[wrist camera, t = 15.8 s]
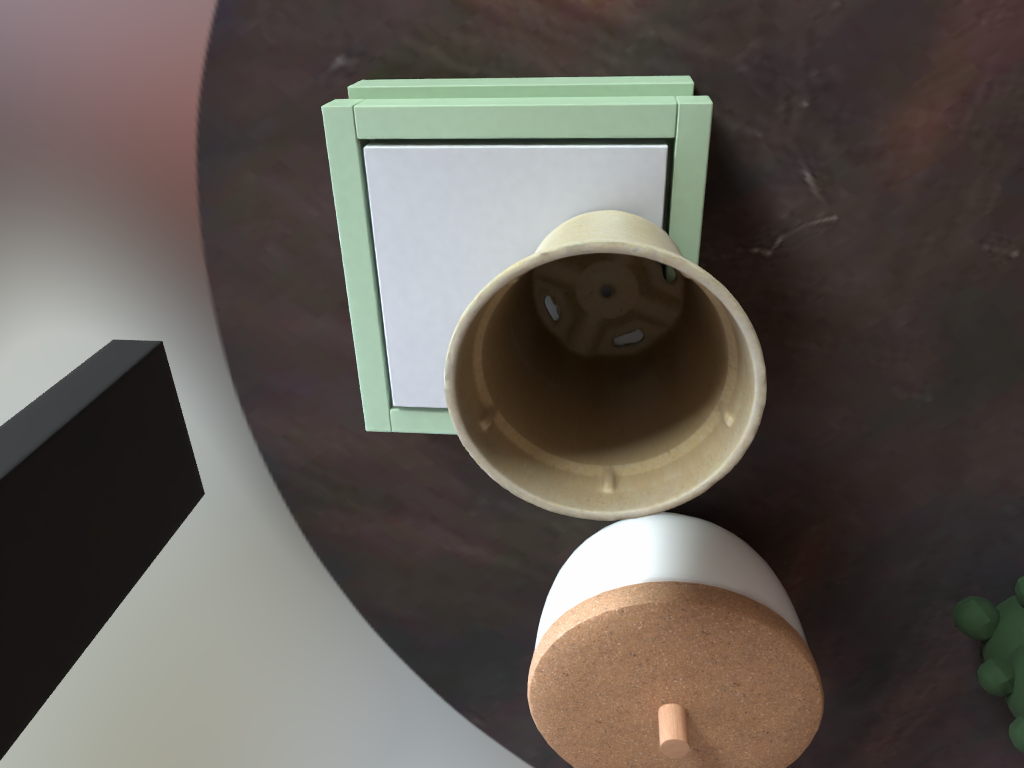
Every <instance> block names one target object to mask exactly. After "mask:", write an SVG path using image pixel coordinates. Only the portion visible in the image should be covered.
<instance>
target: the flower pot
mask: <svg viewBox="0 0 1024 768" xmlns="http://www.w3.org/2000/svg"><path fill="white" fill-rule="evenodd" d="M659 262H660V263H663V264H666V265H668V266H671V267H673V269H674V271H675V274H676V277H675V279H674V280H673V281H672V282H669V281H667V280H666V279H665V278H664V276H663V271H662V267H661V265H660V263H659ZM604 286H609V287H610V288H612V293H611V295H610V296H604V295H602V293H601V291H602V288H603V287H604ZM547 296H550V298H551V300H552V302H553V304H554V305H557V306H558V308H557V307H556V311H557V314H558V316H559V318H558V319H557V320H556V321H554V320H553V318H552V316H551V315H550V313H549V311H548V309H547V307H546V304H545V298H546V297H547ZM637 329H639V330H641V332H642V333H643V338H642V339H641V340H640V341H638V342H635V343H629V344H624V345H621V346H619V345H615V344H614V339H615V338H617V337H619V336H622V335H625V334H628V333H631V332H633V331H636V330H637ZM766 385H767V381H766V368H765V363H764V358H763V353H762V350H761V346H760V342H759V340H758V337H757V334H756V332H755V330H754V328H753V326H752V324H751V322H750V320H749V318H748V316H747V315H746V313H745V312H744V310H743V309H742V307H741V306H740V304H739V303H738V301H737V300H736V299H735V298H734V297H733V295H732V294H731V293H730V292H729V291H728V290H727V289H726V288H725V287H724V286H723V285H722V284H721V283H720V282H719V281H718V280H716V279H715V278H714V277H713V276H712V275H710V274H709V273H708V272H706V271H705V270H703V269H702V268H701V267H699V266H698V265H696V264H695V263H693V262H691V261H689V260H687V259H686V258H684V257H683V255H682V253H681V252H680V250H679V248H678V246H677V245H676V244H675V242H674V241H673V240H672V239H671V237H670V236H669V235H668V234H667V233H666V232H665V231H664V230H663V229H661V228H660V227H659V226H657V225H655V224H654V223H652V222H650V221H648V220H647V219H644V218H642V217H639V216H637V215H634V214H630V213H627V212H622V211H618V210H603V211H594V212H588V213H585V214H581V215H578V216H576V217H574V218H572V219H570V220H568V221H566V222H564V223H563V224H561V225H560V226H558V227H557V228H556V229H554V230H553V231H552V232H551V233H550V234H549V235H548V236H547V237H546V238H545V239H544V240H543V241H542V243H541V244H540V245H539V247H538V248H537V250H536V251H535V253H534V254H532V255H530V256H528V257H526V258H524V259H522V260H520V261H518V262H516V263H515V264H513V265H512V266H510V267H508V268H507V269H506V270H504V271H503V272H501V273H500V274H499V275H498V276H496V277H495V278H494V279H493V280H492V281H491V282H489V283H488V284H487V285H486V286H485V287H484V288H483V289H482V290H481V291H480V292H479V293H478V294H477V296H476V297H475V298H474V299H473V300H472V302H471V303H470V304H469V305H468V307H467V308H466V310H465V311H464V313H463V314H462V316H461V318H460V320H459V322H458V324H457V326H456V328H455V330H454V333H453V335H452V338H451V341H450V344H449V348H448V351H447V356H446V361H445V367H444V387H445V396H446V403H447V408H448V411H449V415H450V418H451V420H452V423H453V426H454V429H455V431H456V433H457V434H458V436H459V439H460V440H461V442H462V445H463V446H464V447H465V449H466V450H468V452H469V453H470V456H471V457H473V459H474V460H475V461H476V462H477V464H478V465H479V466H480V467H481V468H482V469H483V470H484V471H485V472H486V473H487V474H488V475H489V476H490V477H491V478H492V479H493V480H495V481H496V482H497V483H499V484H500V485H501V486H502V487H503V488H504V489H507V490H509V491H510V492H511V493H512V494H514V495H516V496H517V497H519V498H521V499H523V500H525V501H527V502H530V503H532V504H534V505H536V506H538V507H540V508H543V509H546V510H548V511H551V512H555V513H559V514H563V515H567V516H571V517H577V518H583V519H593V520H607V521H610V520H612V521H615V520H626V519H636V518H640V517H645V516H650V515H654V514H658V513H661V512H664V511H666V510H669V509H671V508H674V507H677V506H679V505H682V504H684V503H686V502H688V501H690V500H692V499H694V498H695V497H697V496H699V495H701V494H702V493H704V492H705V491H707V490H708V489H709V488H710V487H711V486H712V485H714V484H715V483H716V482H717V481H719V480H720V479H722V478H723V477H724V476H725V475H726V474H728V473H729V472H730V471H731V470H732V469H733V467H734V466H735V465H737V463H738V462H739V461H740V459H741V458H742V457H743V455H744V454H745V452H746V450H747V449H748V448H749V446H750V444H751V442H752V440H753V439H754V436H755V434H756V433H757V430H758V427H759V425H760V422H761V418H762V414H763V410H764V407H765V403H766V390H767V387H766Z"/></svg>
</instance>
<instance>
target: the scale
mask: <svg viewBox="0 0 1024 768" xmlns="http://www.w3.org/2000/svg"><path fill="white" fill-rule="evenodd" d="M348 94H349V99H335V100H333V101H331V102H329V103H327V104H325V105H323V106H322V114H323V121H324V128H325V135H326V143H327V150H328V157H329V164H330V172H331V179H332V186H333V193H334V200H335V208H336V215H337V222H338V229H339V237H340V244H341V251H342V258H343V266H344V273H345V280H346V287H347V294H348V302H349V309H350V316H351V323H352V331H353V338H354V345H355V352H356V359H357V367H358V374H359V381H360V388H361V396H362V403H363V410H364V417H365V425H366V431H379V432H392V431H393V432H408V433H432V434H456V435H458V434H457V433H456V431H455V429H454V426H453V423H452V420H451V418H450V415H449V411H448V408H429V407H402V406H394V405H393V398H392V389H391V381H390V372H389V364H388V355H387V346H386V338H385V329H384V321H383V312H382V303H381V295H380V286H379V278H378V269H377V260H376V252H375V243H374V235H373V226H372V217H371V209H370V200H369V192H368V183H367V174H366V166H365V157H364V147H365V146H366V145H368V144H369V143H370V142H372V141H373V140H374V139H533V138H666V142H667V145H668V158H667V173H666V187H665V202H664V216H663V230H664V231H665V232H666V233H667V234H668V235H669V236H670V237H671V239H672V240H673V241H674V242H675V244H676V245H677V246H678V248H679V250H680V252H681V253H682V255H683V257H684V258H686V259H687V260H689V261H691V262H693V263H695V264H696V265H698V263H699V252H700V241H701V231H702V220H703V209H704V199H705V188H706V177H707V167H708V156H709V145H710V135H711V124H712V113H713V102H712V101H711V99H710V98H709V96H693V94H694V82H693V80H692V79H691V77H690V76H629V77H552V78H475V79H397V80H361V81H359V82H357V83H355V84H353V85H351V86H349V87H348ZM660 265H661V267H662V271H663V276H664V278H665V279H666V280H667V281H669V282H672V281H673V280H674V279H675V277H676V274H675V271H674V269H673V267H671V266H668V265H666V264H663V263H660Z"/></svg>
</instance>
